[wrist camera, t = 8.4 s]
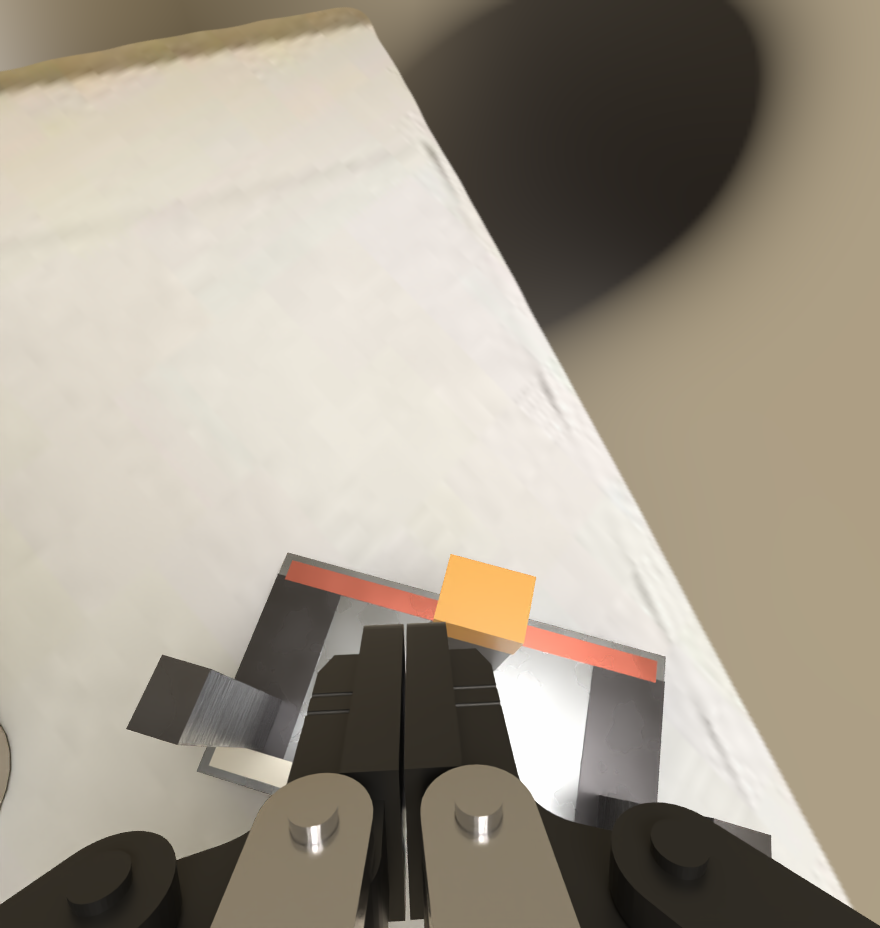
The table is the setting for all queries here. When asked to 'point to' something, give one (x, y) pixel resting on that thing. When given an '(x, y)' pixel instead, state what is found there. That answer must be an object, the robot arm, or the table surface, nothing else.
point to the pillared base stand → (386, 602)
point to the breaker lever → (485, 608)
